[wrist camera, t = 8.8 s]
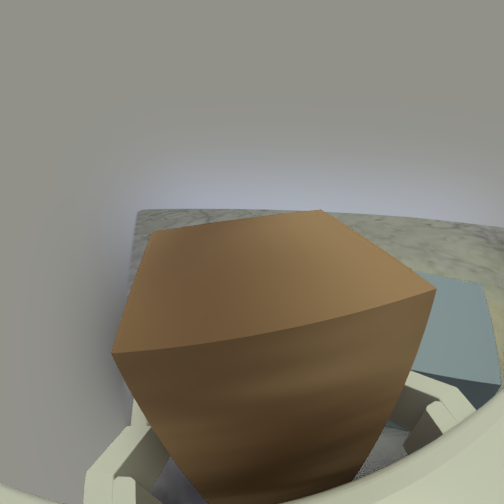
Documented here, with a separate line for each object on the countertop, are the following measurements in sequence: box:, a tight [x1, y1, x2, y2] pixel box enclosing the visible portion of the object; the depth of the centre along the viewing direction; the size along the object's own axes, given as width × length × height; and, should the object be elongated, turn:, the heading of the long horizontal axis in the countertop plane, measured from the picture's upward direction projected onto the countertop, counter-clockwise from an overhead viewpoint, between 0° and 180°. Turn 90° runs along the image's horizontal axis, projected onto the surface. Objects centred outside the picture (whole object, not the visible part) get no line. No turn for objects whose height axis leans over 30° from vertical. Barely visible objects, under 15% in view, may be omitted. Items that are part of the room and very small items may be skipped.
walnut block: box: [111, 210, 437, 504], centre depth 8 cm, size 5×5×12 cm
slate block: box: [385, 271, 501, 431], centre depth 18 cm, size 12×12×6 cm
